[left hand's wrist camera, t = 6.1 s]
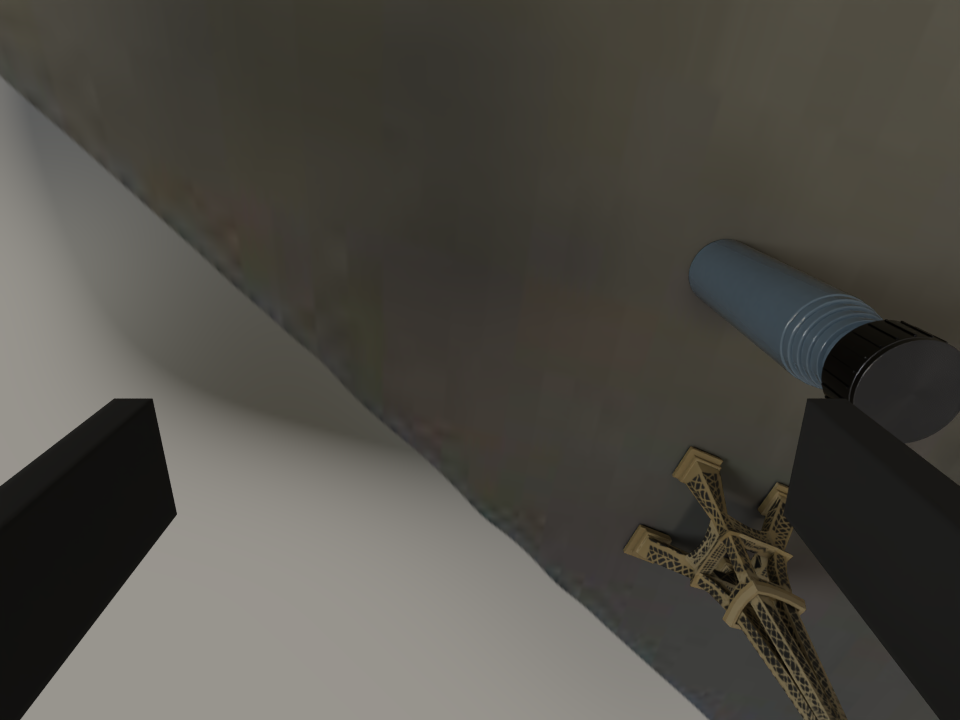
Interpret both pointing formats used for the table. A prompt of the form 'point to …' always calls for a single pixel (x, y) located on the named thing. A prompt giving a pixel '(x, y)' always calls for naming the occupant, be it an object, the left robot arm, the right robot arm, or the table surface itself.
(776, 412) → the table surface
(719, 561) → the eiffel tower
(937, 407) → the cap
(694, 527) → the table surface
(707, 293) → the bottle
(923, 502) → the left robot arm
